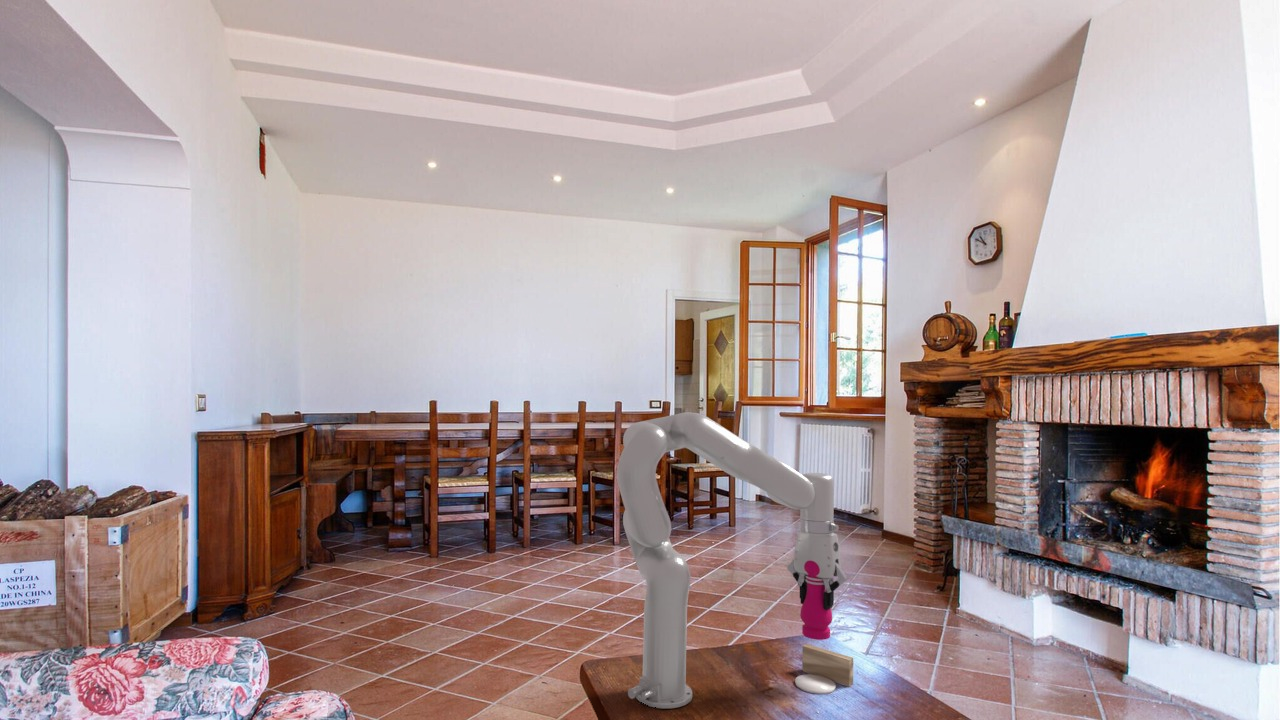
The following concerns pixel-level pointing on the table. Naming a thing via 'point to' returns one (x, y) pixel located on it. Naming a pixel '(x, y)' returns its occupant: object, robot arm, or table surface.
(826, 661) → the oak rail
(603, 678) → the table surface
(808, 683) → the coaster
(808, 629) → the pepper mill
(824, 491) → the robot arm
